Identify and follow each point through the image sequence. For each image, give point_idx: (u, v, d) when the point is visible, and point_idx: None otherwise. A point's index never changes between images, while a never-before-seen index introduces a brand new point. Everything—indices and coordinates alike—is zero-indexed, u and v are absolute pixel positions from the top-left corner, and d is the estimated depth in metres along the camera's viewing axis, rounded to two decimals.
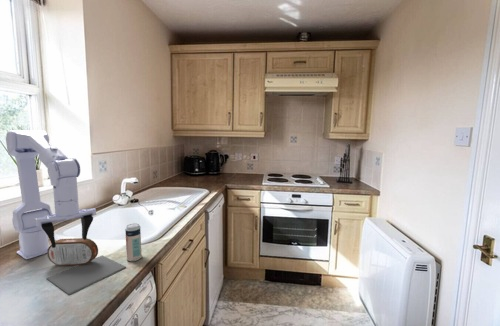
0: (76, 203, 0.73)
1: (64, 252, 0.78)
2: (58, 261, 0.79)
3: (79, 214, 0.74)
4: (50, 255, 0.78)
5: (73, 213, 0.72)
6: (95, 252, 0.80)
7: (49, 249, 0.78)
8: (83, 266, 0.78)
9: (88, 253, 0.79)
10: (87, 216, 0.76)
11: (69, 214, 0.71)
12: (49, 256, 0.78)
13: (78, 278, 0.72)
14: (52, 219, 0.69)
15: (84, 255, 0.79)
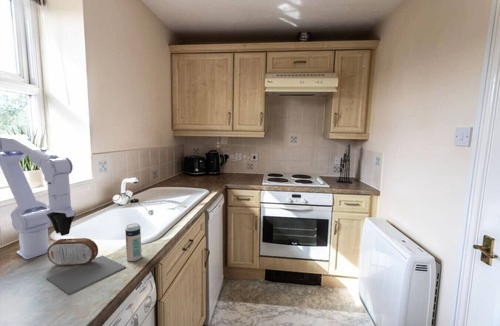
0: (55, 200, 0.78)
1: (64, 252, 0.78)
2: (58, 261, 0.79)
3: (55, 211, 0.78)
4: (50, 255, 0.78)
5: (52, 208, 0.78)
6: (95, 252, 0.80)
7: (49, 249, 0.78)
8: (83, 266, 0.78)
9: (88, 253, 0.79)
10: (61, 214, 0.79)
11: (50, 208, 0.79)
12: (49, 256, 0.78)
13: (78, 278, 0.72)
14: None
15: (84, 255, 0.79)
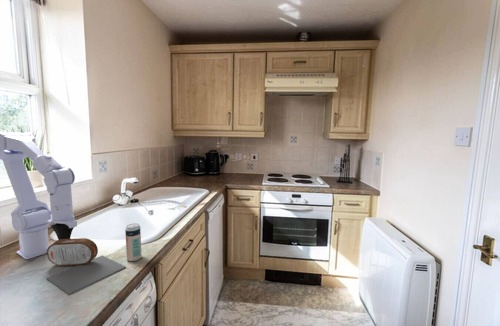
0: (58, 211, 0.78)
1: (63, 252, 0.78)
2: (58, 261, 0.79)
3: (58, 222, 0.78)
4: (50, 255, 0.78)
5: (54, 219, 0.78)
6: (95, 252, 0.80)
7: (49, 249, 0.78)
8: (83, 266, 0.78)
9: (88, 253, 0.78)
10: (61, 224, 0.80)
11: (52, 218, 0.78)
12: (49, 256, 0.78)
13: (78, 278, 0.72)
14: (51, 218, 0.81)
15: (84, 255, 0.79)
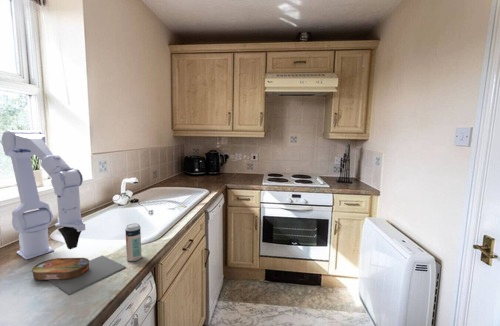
0: (65, 213, 0.75)
1: None
2: None
3: (66, 225, 0.75)
4: None
5: (62, 222, 0.75)
6: (87, 267, 0.75)
7: None
8: None
9: None
10: (69, 227, 0.77)
11: (59, 222, 0.76)
12: None
13: (78, 278, 0.72)
14: (58, 221, 0.79)
15: None
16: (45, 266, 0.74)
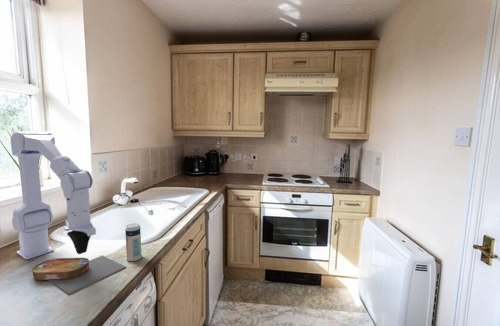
0: (75, 217, 0.72)
1: None
2: None
3: (75, 229, 0.72)
4: None
5: (71, 226, 0.72)
6: (87, 267, 0.75)
7: None
8: None
9: None
10: (79, 231, 0.74)
11: (69, 226, 0.73)
12: None
13: (78, 278, 0.72)
14: (67, 225, 0.76)
15: None
16: (45, 266, 0.74)
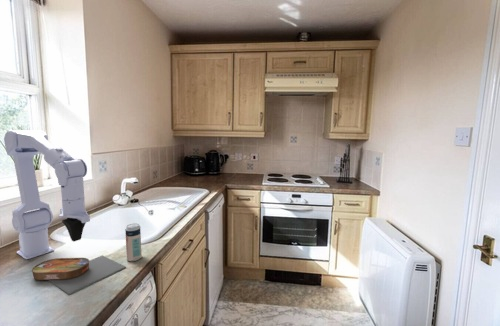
0: (69, 204, 0.73)
1: None
2: None
3: (70, 216, 0.73)
4: None
5: (66, 213, 0.73)
6: (87, 267, 0.75)
7: None
8: None
9: None
10: (73, 219, 0.75)
11: (63, 213, 0.74)
12: None
13: (78, 278, 0.72)
14: (62, 212, 0.77)
15: None
16: (45, 266, 0.74)
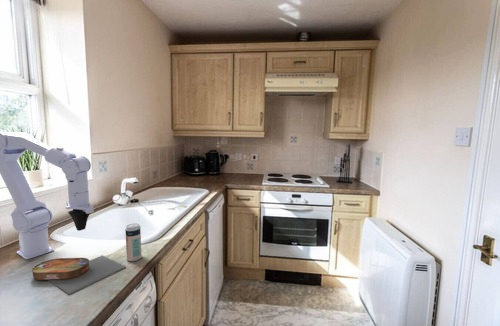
0: (75, 197, 0.82)
1: None
2: None
3: (75, 207, 0.81)
4: None
5: (72, 205, 0.82)
6: (87, 267, 0.75)
7: None
8: None
9: None
10: (78, 210, 0.83)
11: (70, 205, 0.82)
12: None
13: (78, 278, 0.72)
14: (68, 205, 0.85)
15: None
16: (45, 266, 0.74)
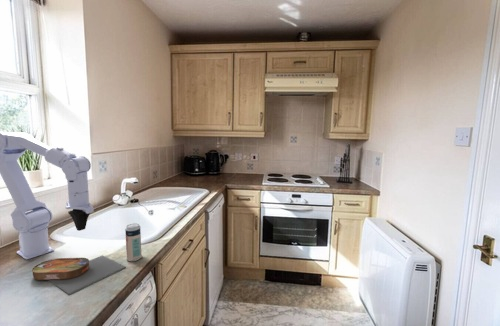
0: (75, 197, 0.82)
1: None
2: None
3: (75, 207, 0.81)
4: None
5: (72, 205, 0.82)
6: (87, 267, 0.75)
7: None
8: None
9: None
10: (78, 210, 0.83)
11: (70, 205, 0.82)
12: None
13: (78, 278, 0.72)
14: (68, 205, 0.85)
15: None
16: (45, 266, 0.74)
